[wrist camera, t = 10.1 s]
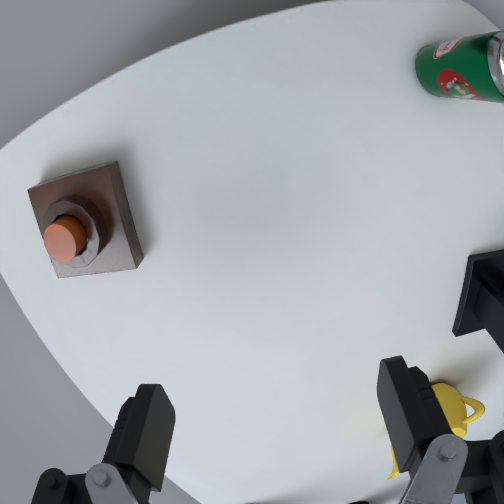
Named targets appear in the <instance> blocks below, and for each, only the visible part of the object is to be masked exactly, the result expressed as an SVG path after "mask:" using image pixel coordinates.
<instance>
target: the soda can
mask: <svg viewBox="0 0 504 504" xmlns="http://www.w3.org/2000/svg"><path fill="white" fill-rule="evenodd" d="M415 68H416V73H417V77H418V79H419V81H420V83H421V84H422V86H423V87H424V88H425V89H426V90H427V91H428V92H429V93H431V94H433V95H435V96H437V97H446V98H460V99H471V100H481V101H490V102H498V103H504V31H497V32H490V33H484V34H478V35H473V36H468V37H462V38H458V39H453V40H448V41H444V42H439V43H435V44H431V45H427V46H425V47H423V48H422V49H421V50H420V51H419V53H418V54H417V57H416V62H415Z"/></svg>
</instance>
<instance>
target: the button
mask: <svg viewBox="0 0 504 504" xmlns="http://www.w3.org/2000/svg"><path fill="white" fill-rule="evenodd" d="M44 244H45V247H46V249H47V251H48V252H49V254H50V255H51V256H52V257H53V258H54V259H56V260H58V261H61V262H68V261H70V260H72V259H73V258H74V257H75V256H76V255H77V254H78V253H79V252H80V251H81V250H82V249H83V248H84V246H85V244H86V232H85V229H84V227H83V225H82V224H81V223H80V222H79V220H77V219H76V218H74V217H72V216H62V217H60V218H59V219H58V220H56V221H55V222H54V223H52V224H51V225H49V226H48V227H47V228H46V230H45V233H44Z"/></svg>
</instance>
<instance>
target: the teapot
mask: <svg viewBox="0 0 504 504" xmlns="http://www.w3.org/2000/svg"><path fill="white" fill-rule="evenodd" d="M432 388H433V390H434V392H435V394H436V397H437V398H438V401H439V403H440V405H441V407H442V409H443V412H444V414H445V416H446V418H447V421H448V423H449V425H450V428H451V429H452V431H453V433H454V434H455V435H457V436H459V437H461V438H463V437H464V436H465V435H466V431H467V424H468V423H470V422H472V421H474V420H476V419H477V418H479V417H480V416H481V415H482V414H483V413H484V411H485V406H484V405H483V404H482V403H481V402H480V401H478V400H475V399H472V398H469V397H464V396H461V394H460V393H459V391H458V390H456V389H455V388H453V387H452V386H450V385H447V384H445V383H438V384H435V385H433V386H432ZM465 403H466V404H468V405H470V406H471V407H472V408H473V409H474V410H475V412H474V413H473V414H472V415H471V416H469V417H467V411H466V406H465ZM391 452H392V457H393V464H394V465H393V470H392V473H391V474H390V476H389V477H388V480H389V479H391V478H393V477H394V476H396V475H397V474H398V473H399V469H398V465H397V462H396V458H395V455H394V451H393V448H392V445H391Z"/></svg>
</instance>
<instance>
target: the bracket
mask: <svg viewBox="0 0 504 504" xmlns="http://www.w3.org/2000/svg"><path fill="white" fill-rule="evenodd" d="M482 329H486V330H487V331H488V333H489V334H490V335H491V337H492V338H493V339H494V341H495V342H496V343H497V345H498V346H499V348H500V349H501V350H502V352H503V353H504V250H500V251H495V252H489V253H484V254H478V255H472V256H469V257H468V263H467V268H466V274H465V279H464V284H463V289H462V293H461V298H460V302H459V307H458V311H457V315H456V319H455V323H454V326H453V330H452V332H453V333H454V335H455V337H457V336H461V335H464V334H468V333H472V332H475V331H478V330H482Z"/></svg>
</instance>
